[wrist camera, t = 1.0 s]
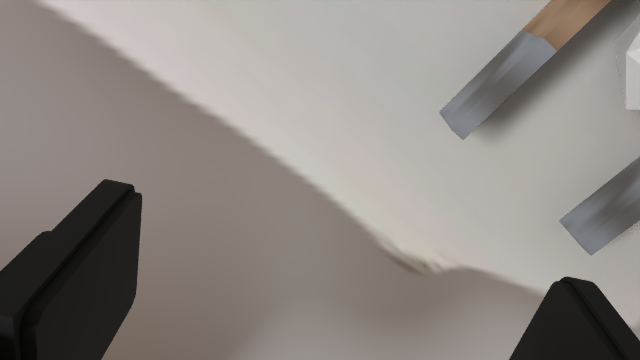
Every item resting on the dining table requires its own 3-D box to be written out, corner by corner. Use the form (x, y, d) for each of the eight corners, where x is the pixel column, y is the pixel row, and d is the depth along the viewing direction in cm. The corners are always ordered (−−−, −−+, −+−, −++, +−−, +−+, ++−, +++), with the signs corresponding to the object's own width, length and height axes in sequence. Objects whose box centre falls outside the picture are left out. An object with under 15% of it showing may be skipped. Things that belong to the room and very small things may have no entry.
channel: (646, -94, 30) (689, -102, 26) (772, 68, 34) (825, 82, 30) (439, 112, 36) (451, 129, 32) (567, 228, 40) (591, 255, 36)
